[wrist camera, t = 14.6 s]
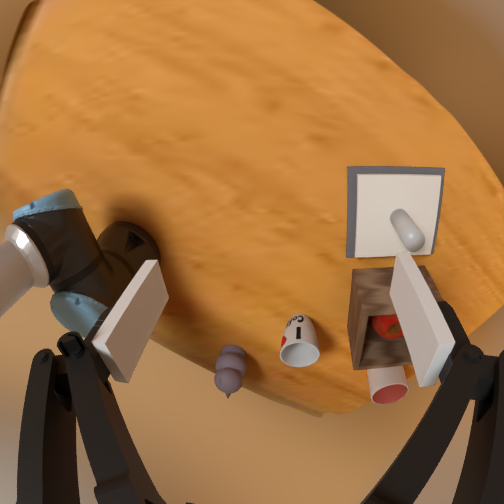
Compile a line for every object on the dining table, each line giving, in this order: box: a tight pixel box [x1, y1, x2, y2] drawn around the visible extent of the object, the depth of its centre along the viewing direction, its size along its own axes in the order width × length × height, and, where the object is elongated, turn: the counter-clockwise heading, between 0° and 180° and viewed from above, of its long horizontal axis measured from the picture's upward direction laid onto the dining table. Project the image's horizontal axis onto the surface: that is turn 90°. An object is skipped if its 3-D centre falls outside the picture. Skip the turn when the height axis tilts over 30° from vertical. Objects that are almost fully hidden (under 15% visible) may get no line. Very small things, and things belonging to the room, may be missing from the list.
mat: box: [346, 166, 445, 258], centre depth 53 cm, size 19×18×1 cm
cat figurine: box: [215, 345, 247, 398], centre depth 72 cm, size 9×8×12 cm
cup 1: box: [280, 314, 320, 367], centre depth 64 cm, size 8×8×10 cm
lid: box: [354, 174, 441, 258], centre depth 48 cm, size 16×16×11 cm
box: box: [347, 266, 443, 370], centre depth 57 cm, size 16×16×13 cm
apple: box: [370, 314, 404, 339], centre depth 58 cm, size 9×8×11 cm
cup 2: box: [367, 366, 409, 405], centre depth 70 cm, size 10×10×10 cm
